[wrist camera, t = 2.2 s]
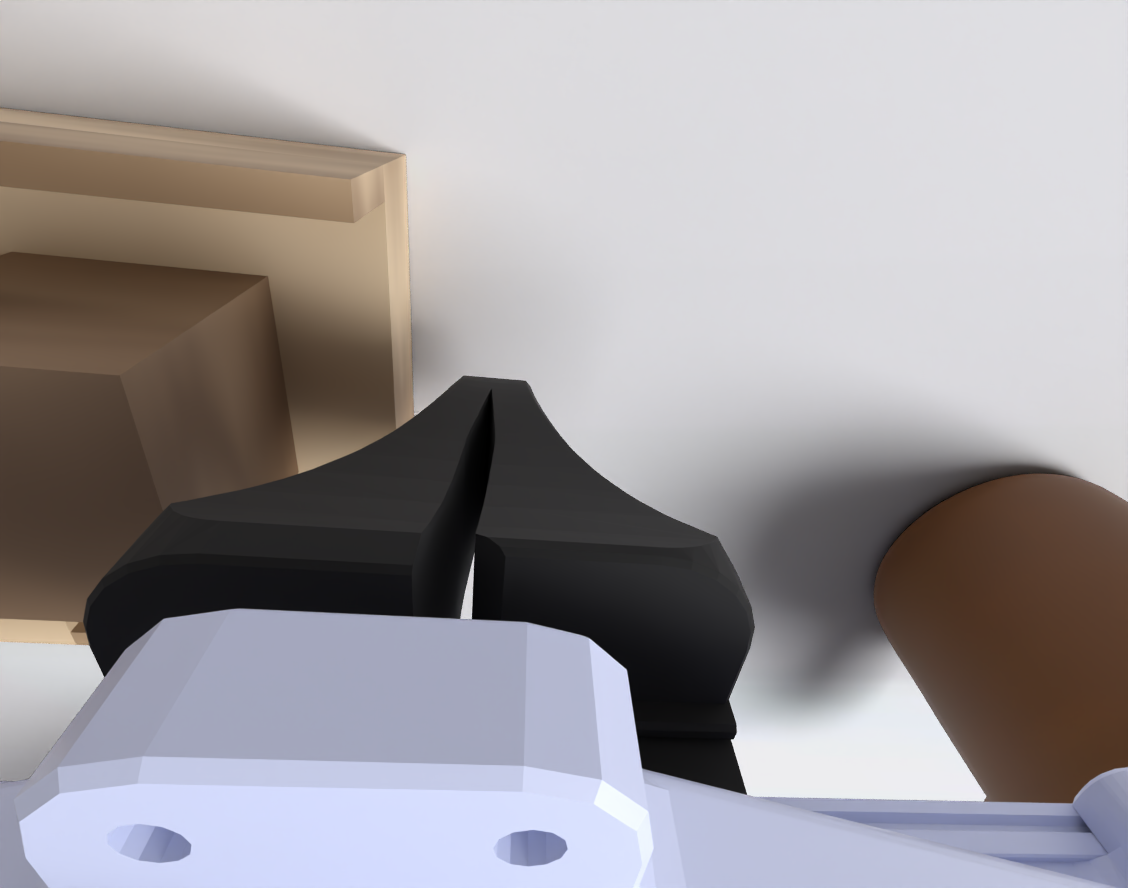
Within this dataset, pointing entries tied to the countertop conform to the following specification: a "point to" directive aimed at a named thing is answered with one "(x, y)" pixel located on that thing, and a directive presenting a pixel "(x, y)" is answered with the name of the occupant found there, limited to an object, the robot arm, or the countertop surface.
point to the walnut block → (124, 412)
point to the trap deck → (236, 255)
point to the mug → (1018, 630)
